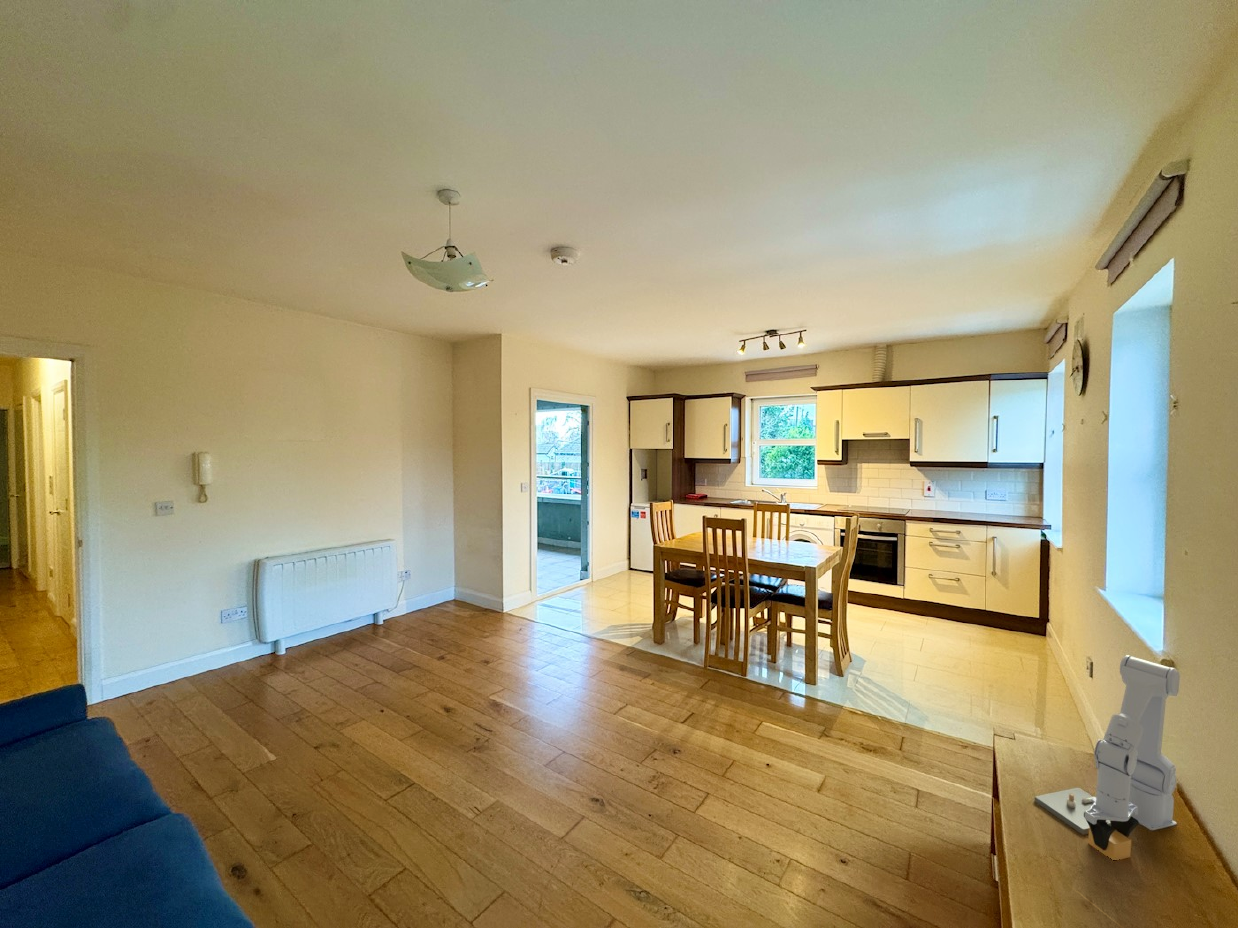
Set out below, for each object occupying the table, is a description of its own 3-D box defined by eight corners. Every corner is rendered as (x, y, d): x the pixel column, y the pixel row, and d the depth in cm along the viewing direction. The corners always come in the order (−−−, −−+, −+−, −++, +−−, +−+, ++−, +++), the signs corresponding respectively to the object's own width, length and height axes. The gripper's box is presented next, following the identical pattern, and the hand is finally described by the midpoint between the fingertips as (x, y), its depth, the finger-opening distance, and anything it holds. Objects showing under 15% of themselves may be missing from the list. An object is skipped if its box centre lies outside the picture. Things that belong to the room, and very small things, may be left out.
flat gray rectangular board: (1077, 792, 144) (1078, 777, 144) (1128, 823, 132) (1130, 807, 132) (1034, 801, 140) (1035, 785, 140) (1082, 834, 128) (1084, 818, 128)
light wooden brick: (1104, 839, 127) (1105, 823, 127) (1130, 856, 122) (1131, 839, 122) (1088, 843, 126) (1089, 826, 126) (1113, 860, 121) (1114, 844, 120)
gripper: (1115, 776, 128) (1111, 826, 129) (1072, 785, 125) (1068, 836, 126) (1150, 795, 122) (1146, 848, 122) (1105, 805, 118) (1101, 860, 119)
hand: (1109, 844), depth 124 cm, fingers closed on light wooden brick, 5 cm apart
